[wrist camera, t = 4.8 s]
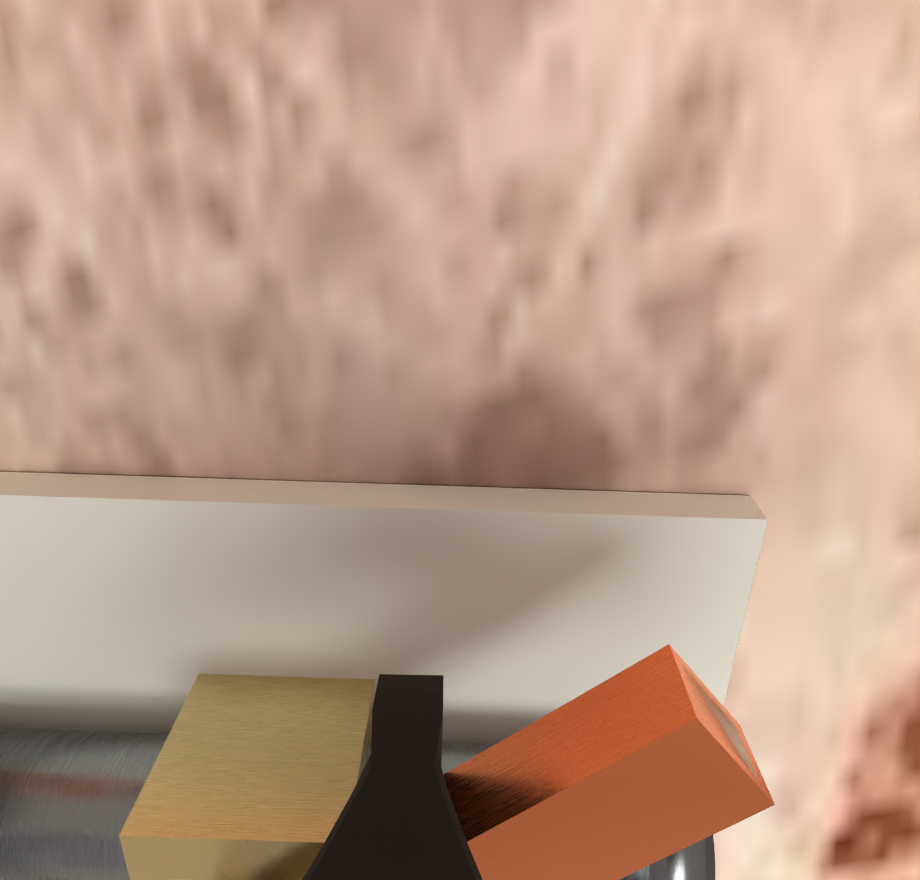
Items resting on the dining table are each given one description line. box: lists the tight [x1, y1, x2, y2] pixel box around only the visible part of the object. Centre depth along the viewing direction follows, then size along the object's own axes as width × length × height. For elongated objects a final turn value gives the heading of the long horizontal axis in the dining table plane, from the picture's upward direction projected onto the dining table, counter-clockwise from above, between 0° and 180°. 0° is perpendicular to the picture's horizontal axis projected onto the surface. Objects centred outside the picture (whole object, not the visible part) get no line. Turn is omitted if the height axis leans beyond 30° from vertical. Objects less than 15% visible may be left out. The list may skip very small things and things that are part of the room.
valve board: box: [0, 472, 768, 744], centre depth 18 cm, size 20×14×1 cm
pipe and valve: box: [0, 674, 715, 880], centre depth 15 cm, size 18×5×4 cm, turn 88°
